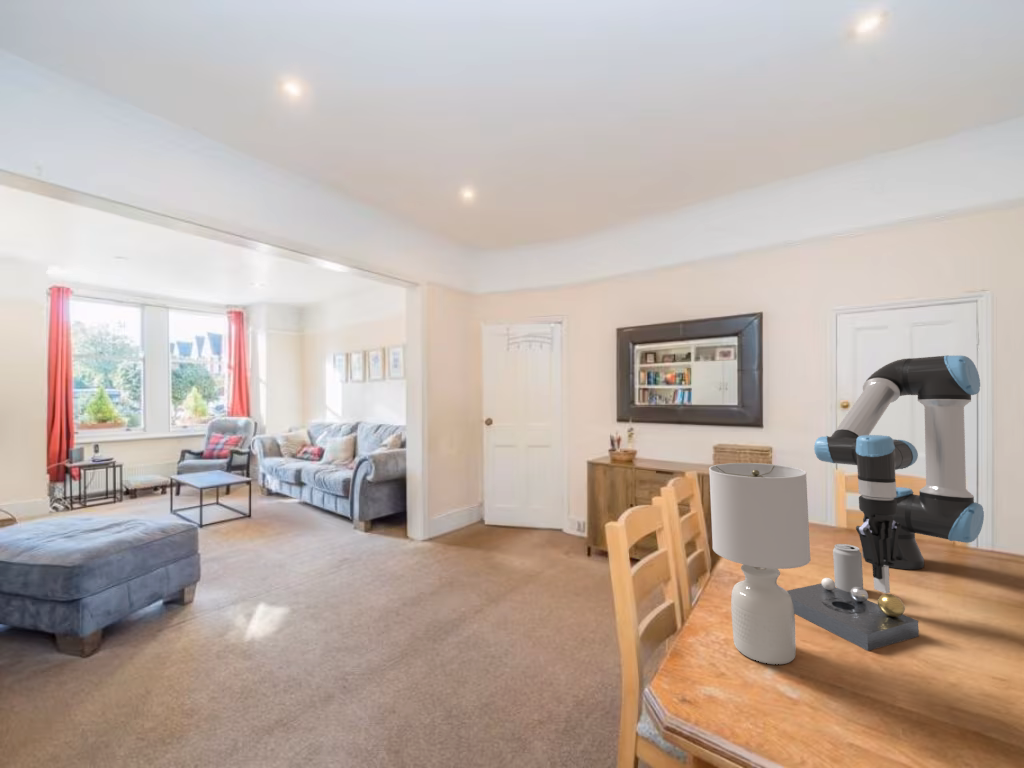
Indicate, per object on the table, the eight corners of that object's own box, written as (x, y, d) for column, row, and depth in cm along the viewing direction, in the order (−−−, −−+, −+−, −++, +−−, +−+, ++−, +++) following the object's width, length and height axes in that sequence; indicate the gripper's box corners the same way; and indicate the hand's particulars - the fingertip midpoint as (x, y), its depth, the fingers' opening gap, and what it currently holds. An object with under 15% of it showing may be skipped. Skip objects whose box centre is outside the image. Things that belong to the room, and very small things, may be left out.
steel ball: (857, 597, 114) (856, 583, 114) (872, 603, 110) (871, 589, 110) (847, 599, 113) (846, 585, 113) (861, 605, 109) (861, 591, 109)
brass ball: (887, 609, 107) (886, 589, 107) (910, 618, 103) (909, 597, 103) (873, 613, 106) (872, 592, 106) (895, 622, 101) (894, 601, 101)
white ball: (827, 586, 120) (826, 575, 120) (838, 591, 117) (837, 579, 118) (818, 588, 119) (818, 576, 119) (829, 592, 117) (829, 581, 117)
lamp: (703, 628, 108) (696, 464, 109) (783, 627, 108) (775, 462, 108) (740, 677, 89) (731, 479, 90) (837, 676, 89) (827, 476, 90)
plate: (824, 595, 123) (824, 582, 123) (918, 636, 102) (918, 620, 102) (779, 605, 118) (778, 592, 118) (868, 650, 97) (867, 634, 97)
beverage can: (868, 596, 122) (866, 551, 122) (842, 594, 123) (839, 550, 123) (855, 586, 128) (853, 543, 128) (830, 584, 129) (828, 542, 129)
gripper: (879, 491, 120) (884, 581, 119) (843, 496, 116) (848, 588, 115) (911, 497, 113) (916, 592, 112) (874, 502, 109) (879, 601, 108)
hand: (881, 590), depth 114 cm, fingers closed
